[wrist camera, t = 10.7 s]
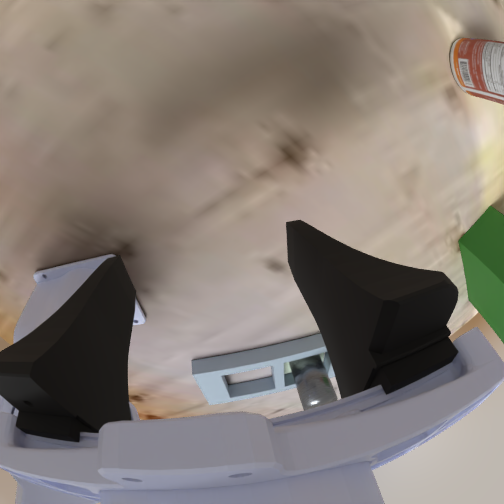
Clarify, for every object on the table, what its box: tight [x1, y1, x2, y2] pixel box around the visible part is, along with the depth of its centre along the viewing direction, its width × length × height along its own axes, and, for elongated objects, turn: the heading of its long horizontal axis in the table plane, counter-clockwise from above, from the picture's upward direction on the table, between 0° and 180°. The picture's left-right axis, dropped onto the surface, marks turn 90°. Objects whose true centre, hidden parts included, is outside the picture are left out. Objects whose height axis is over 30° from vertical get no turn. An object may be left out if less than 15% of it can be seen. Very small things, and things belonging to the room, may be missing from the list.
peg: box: [289, 354, 337, 410], centre depth 30 cm, size 4×4×7 cm
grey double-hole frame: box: [192, 333, 335, 405], centre depth 32 cm, size 19×8×2 cm, turn 96°
